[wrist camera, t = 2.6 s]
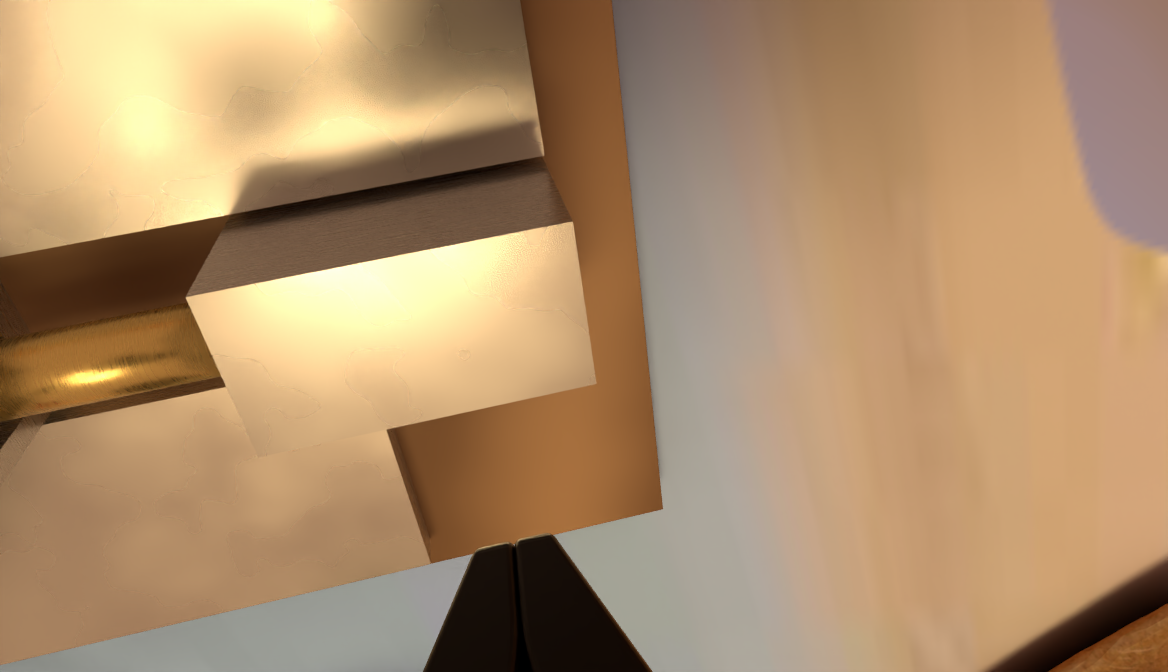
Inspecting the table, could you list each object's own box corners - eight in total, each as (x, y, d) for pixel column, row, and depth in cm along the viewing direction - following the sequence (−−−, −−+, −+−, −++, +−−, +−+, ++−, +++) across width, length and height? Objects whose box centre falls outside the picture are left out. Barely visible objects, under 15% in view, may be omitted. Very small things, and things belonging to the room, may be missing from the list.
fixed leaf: (-74, 655, 21) (-176, 818, 18) (-377, 321, 16) (-622, 457, 12) (430, 538, 23) (433, 667, 19) (317, 192, 17) (290, 279, 13)
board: (-141, 666, 23) (-167, 703, 22) (-923, -122, 12) (-1044, -122, 11) (652, 483, 25) (663, 508, 24) (566, -313, 14) (578, -328, 13)
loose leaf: (-30, 416, 18) (-133, 542, 14) (-401, -124, 12) (-714, -127, 9) (563, 295, 19) (596, 384, 16) (477, -243, 14) (499, -286, 10)
